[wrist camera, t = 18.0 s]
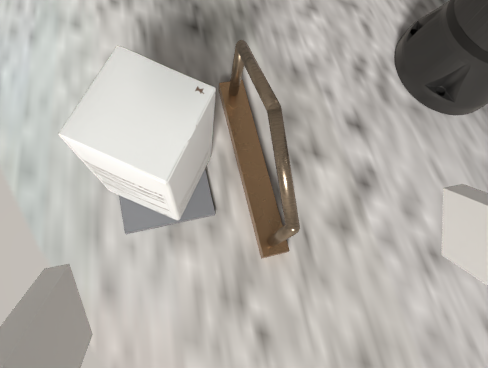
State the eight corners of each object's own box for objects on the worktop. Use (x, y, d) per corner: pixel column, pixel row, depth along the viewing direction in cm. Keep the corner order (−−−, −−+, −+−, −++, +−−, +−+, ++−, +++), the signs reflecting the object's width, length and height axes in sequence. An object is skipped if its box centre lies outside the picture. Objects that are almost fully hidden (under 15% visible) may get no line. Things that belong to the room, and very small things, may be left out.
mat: (197, 136, 43) (197, 134, 42) (215, 215, 40) (215, 213, 40) (113, 151, 41) (111, 149, 40) (126, 234, 38) (124, 233, 38)
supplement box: (144, 124, 42) (116, 38, 28) (212, 155, 42) (220, 84, 28) (105, 190, 39) (52, 133, 25) (178, 223, 39) (167, 184, 25)
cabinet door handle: (240, 86, 46) (259, -3, 32) (286, 252, 40) (333, 231, 26) (218, 89, 45) (227, 0, 31) (261, 258, 40) (295, 240, 26)
